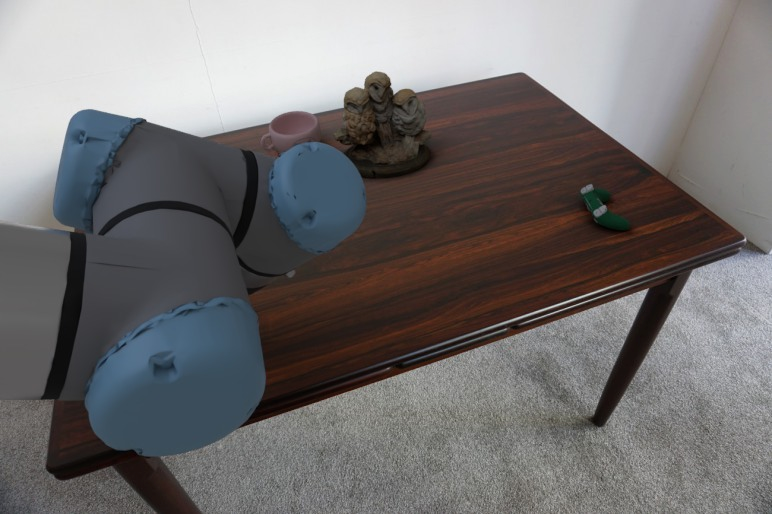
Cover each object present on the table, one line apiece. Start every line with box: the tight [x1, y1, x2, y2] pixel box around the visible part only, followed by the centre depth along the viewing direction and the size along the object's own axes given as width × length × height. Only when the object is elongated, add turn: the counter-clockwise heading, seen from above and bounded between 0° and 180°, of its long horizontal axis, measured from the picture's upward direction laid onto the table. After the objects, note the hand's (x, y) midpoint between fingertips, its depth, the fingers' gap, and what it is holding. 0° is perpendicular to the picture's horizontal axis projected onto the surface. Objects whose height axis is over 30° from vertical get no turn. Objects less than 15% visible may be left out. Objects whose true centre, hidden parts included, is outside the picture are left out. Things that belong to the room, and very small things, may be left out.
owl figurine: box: [332, 71, 433, 179], centre depth 94 cm, size 18×12×17 cm, turn 103°
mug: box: [260, 110, 322, 155], centre depth 101 cm, size 12×10×6 cm
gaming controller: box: [579, 183, 631, 231], centre depth 85 cm, size 9×4×6 cm
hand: (173, 305), depth 66 cm, fingers open, 2 cm apart
